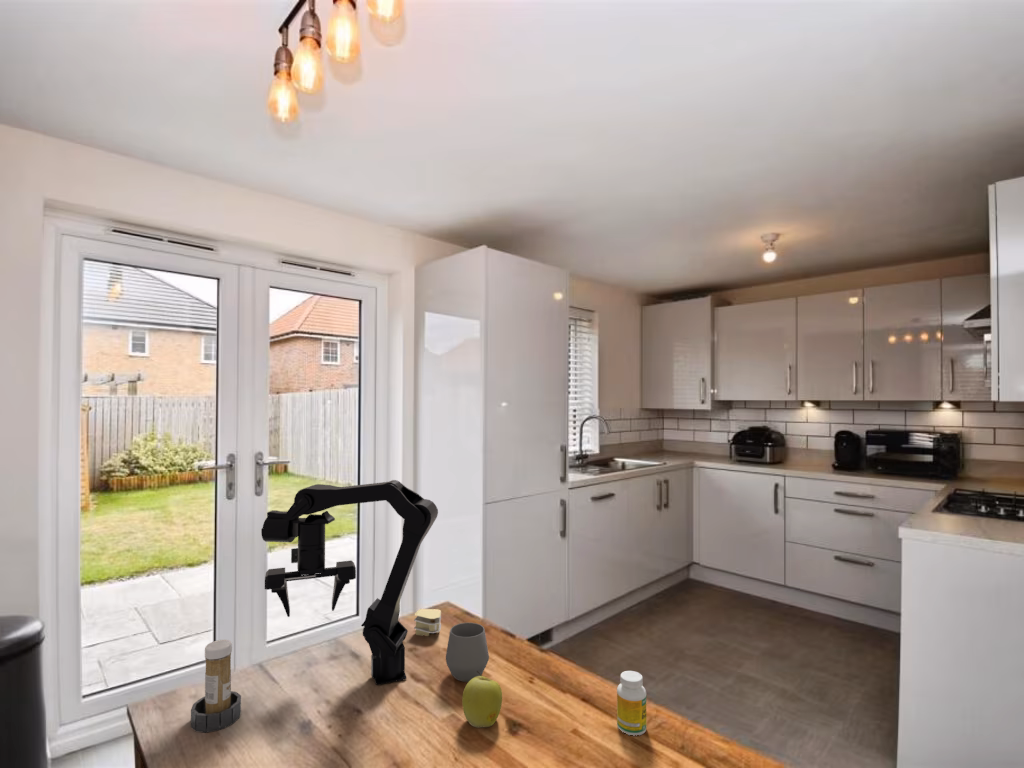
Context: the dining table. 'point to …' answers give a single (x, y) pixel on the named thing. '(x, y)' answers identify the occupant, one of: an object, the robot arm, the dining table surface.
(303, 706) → the dining table surface
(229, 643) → the sprinkles bottle
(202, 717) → the bottle holder
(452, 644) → the cup
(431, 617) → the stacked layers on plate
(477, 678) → the apple
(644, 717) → the supplement bottle
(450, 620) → the dining table surface
